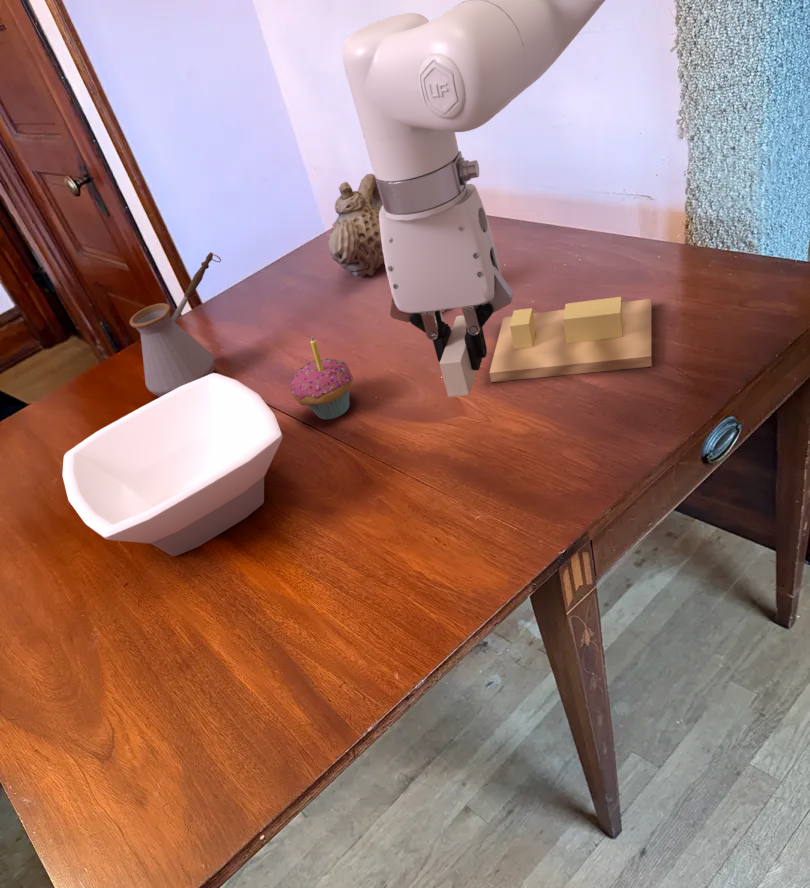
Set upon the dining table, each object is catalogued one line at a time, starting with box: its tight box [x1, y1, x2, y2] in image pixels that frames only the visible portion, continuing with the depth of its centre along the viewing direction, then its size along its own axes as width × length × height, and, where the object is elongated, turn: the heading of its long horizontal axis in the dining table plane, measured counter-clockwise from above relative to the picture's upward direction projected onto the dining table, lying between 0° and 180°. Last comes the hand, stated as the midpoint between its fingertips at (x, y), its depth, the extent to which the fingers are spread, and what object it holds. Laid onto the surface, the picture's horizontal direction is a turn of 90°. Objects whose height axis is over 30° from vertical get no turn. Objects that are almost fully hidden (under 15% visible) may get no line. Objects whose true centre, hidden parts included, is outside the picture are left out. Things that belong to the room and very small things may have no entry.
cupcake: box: [289, 335, 354, 421], centre depth 99 cm, size 9×8×12 cm
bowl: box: [61, 372, 284, 557], centre depth 91 cm, size 24×25×10 cm
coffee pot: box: [129, 252, 222, 398], centre depth 117 cm, size 21×12×15 cm, turn 145°
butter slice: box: [510, 307, 536, 349], centre depth 99 cm, size 2×4×4 cm, turn 166°
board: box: [488, 298, 653, 383], centre depth 99 cm, size 20×14×2 cm
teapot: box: [327, 173, 385, 278], centre depth 130 cm, size 21×12×15 cm, turn 159°
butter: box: [563, 296, 623, 343], centre depth 96 cm, size 7×4×4 cm, turn 76°
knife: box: [439, 314, 477, 398], centre depth 81 cm, size 19×2×4 cm, turn 165°
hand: (464, 363), depth 78 cm, fingers closed on knife, 2 cm apart
